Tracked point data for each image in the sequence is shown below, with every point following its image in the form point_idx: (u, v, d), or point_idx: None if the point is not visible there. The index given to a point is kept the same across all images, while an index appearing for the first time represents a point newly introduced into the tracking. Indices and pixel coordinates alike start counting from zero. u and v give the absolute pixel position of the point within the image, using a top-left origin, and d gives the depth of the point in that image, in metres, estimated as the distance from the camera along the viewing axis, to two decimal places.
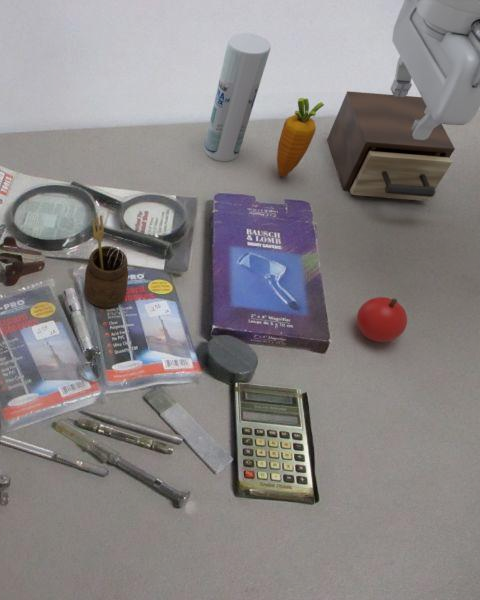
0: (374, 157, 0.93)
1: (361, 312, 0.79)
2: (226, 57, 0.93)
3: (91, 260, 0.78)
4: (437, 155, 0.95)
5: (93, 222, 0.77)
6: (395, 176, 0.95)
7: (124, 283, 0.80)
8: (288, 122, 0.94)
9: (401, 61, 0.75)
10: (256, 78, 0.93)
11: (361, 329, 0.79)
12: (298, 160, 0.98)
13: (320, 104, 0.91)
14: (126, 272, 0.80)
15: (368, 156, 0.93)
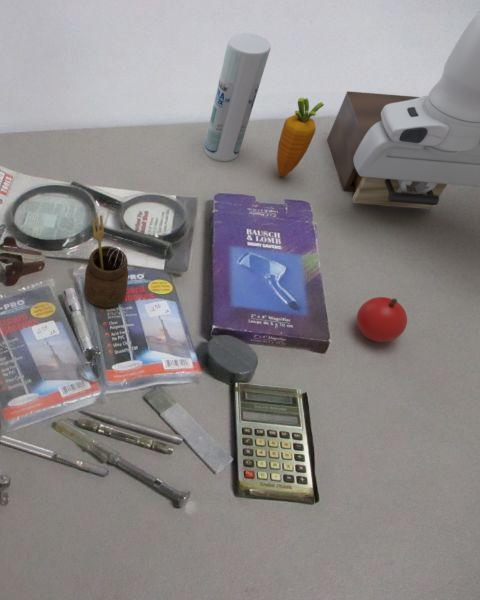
0: None
1: (361, 312, 0.79)
2: (226, 57, 0.93)
3: (91, 260, 0.78)
4: None
5: (93, 222, 0.77)
6: (398, 184, 0.94)
7: (124, 283, 0.80)
8: (288, 122, 0.94)
9: (409, 182, 0.89)
10: (256, 78, 0.93)
11: (361, 329, 0.79)
12: (298, 160, 0.98)
13: (320, 104, 0.91)
14: (126, 272, 0.80)
15: None
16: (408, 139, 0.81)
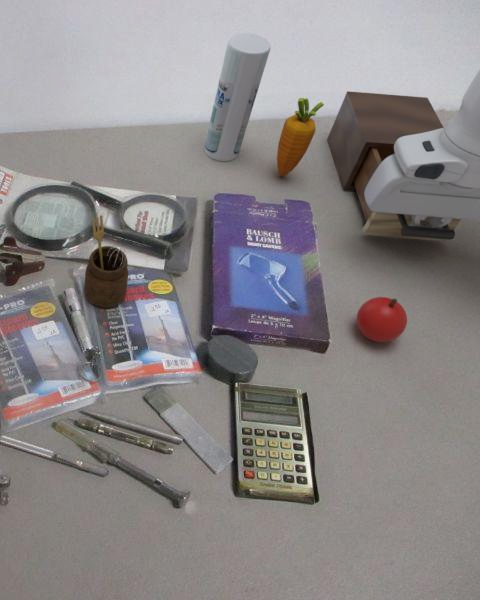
0: None
1: (361, 312, 0.79)
2: (226, 57, 0.93)
3: (91, 260, 0.78)
4: None
5: (93, 222, 0.77)
6: None
7: (124, 283, 0.80)
8: (288, 122, 0.94)
9: (423, 217, 0.85)
10: (256, 78, 0.93)
11: (361, 329, 0.79)
12: (298, 160, 0.98)
13: (320, 104, 0.91)
14: (126, 272, 0.80)
15: None
16: (424, 175, 0.77)
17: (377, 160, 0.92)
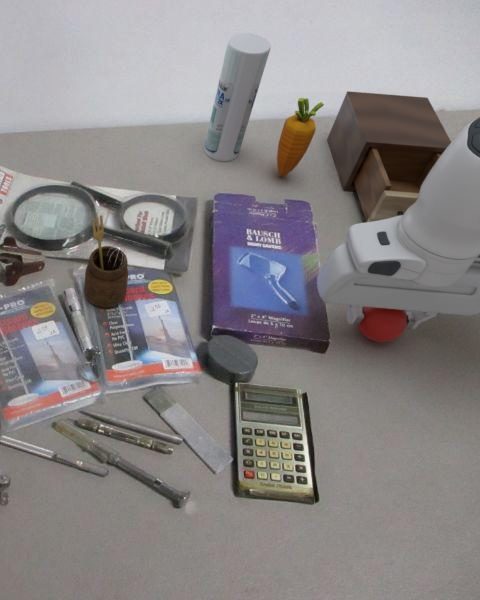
0: (389, 197, 0.87)
1: (362, 312, 0.79)
2: (226, 57, 0.93)
3: (91, 260, 0.78)
4: None
5: (93, 222, 0.77)
6: None
7: (124, 283, 0.80)
8: (288, 122, 0.94)
9: (360, 306, 0.76)
10: (256, 78, 0.93)
11: (361, 329, 0.79)
12: (298, 160, 0.98)
13: (320, 104, 0.91)
14: (126, 272, 0.80)
15: (383, 196, 0.87)
16: (378, 272, 0.68)
17: (377, 160, 0.92)
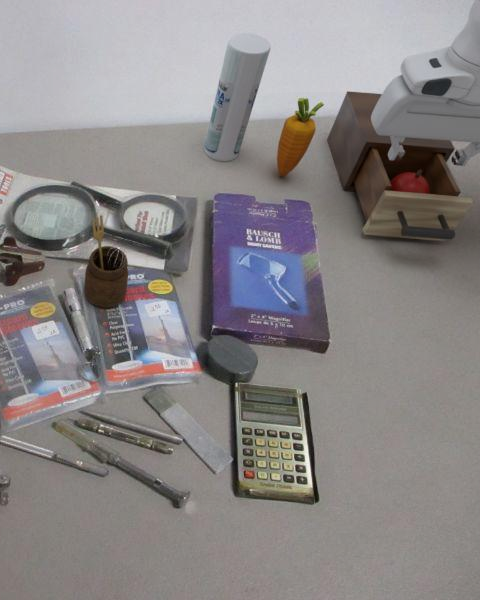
0: (389, 197, 0.87)
1: (391, 184, 0.93)
2: (226, 57, 0.93)
3: (91, 260, 0.78)
4: (456, 194, 0.88)
5: (93, 222, 0.77)
6: (412, 216, 0.89)
7: (124, 283, 0.80)
8: (288, 122, 0.94)
9: (401, 139, 0.85)
10: (256, 78, 0.93)
11: None
12: (298, 160, 0.98)
13: (320, 104, 0.91)
14: (126, 272, 0.80)
15: (383, 196, 0.87)
16: (431, 92, 0.77)
17: (377, 160, 0.92)
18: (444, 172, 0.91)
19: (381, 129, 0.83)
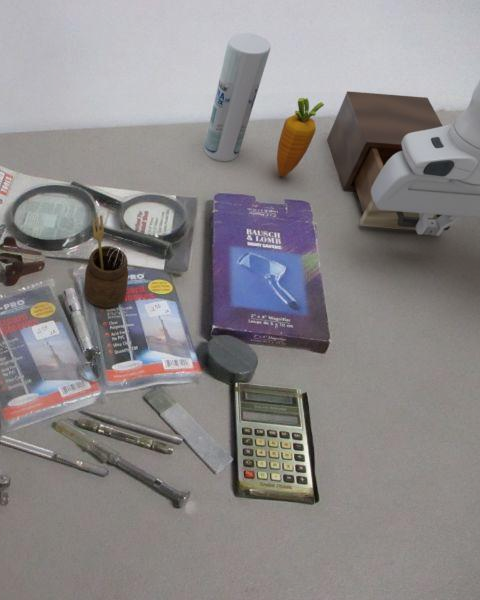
0: None
1: None
2: (226, 57, 0.93)
3: (91, 260, 0.78)
4: None
5: (93, 222, 0.77)
6: None
7: (124, 283, 0.80)
8: (288, 122, 0.94)
9: (431, 215, 0.83)
10: (256, 78, 0.93)
11: None
12: (298, 160, 0.98)
13: (320, 104, 0.91)
14: (126, 272, 0.80)
15: None
16: (433, 172, 0.75)
17: (374, 152, 0.93)
18: None
19: (381, 204, 0.81)
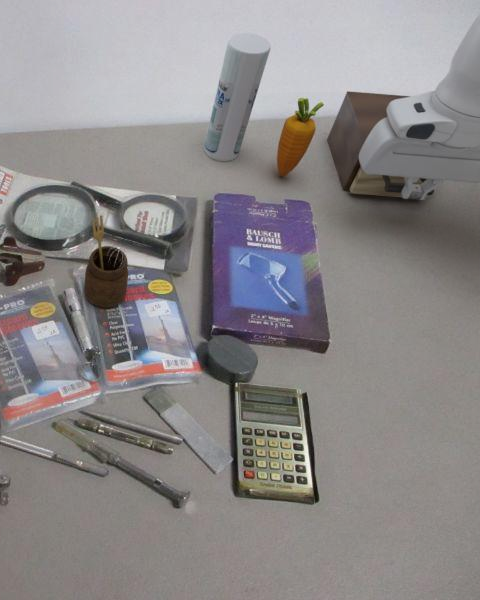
0: None
1: None
2: (226, 57, 0.93)
3: (91, 260, 0.78)
4: None
5: (93, 222, 0.77)
6: None
7: (124, 283, 0.80)
8: (288, 122, 0.94)
9: (415, 179, 0.88)
10: (256, 78, 0.93)
11: None
12: (298, 160, 0.98)
13: (320, 104, 0.91)
14: (126, 272, 0.80)
15: None
16: (415, 135, 0.80)
17: None
18: None
19: (368, 168, 0.86)
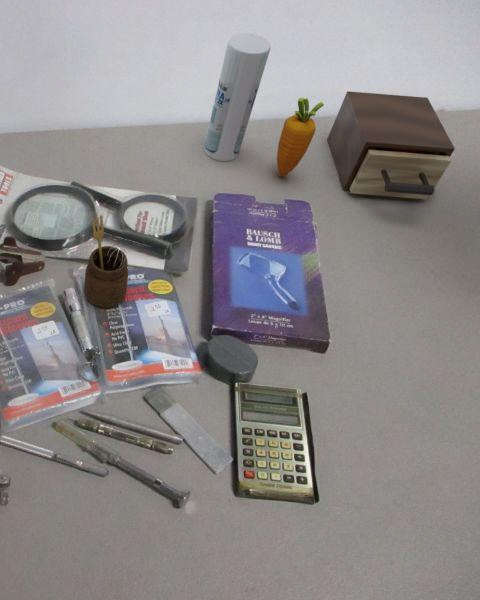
0: (373, 156, 0.93)
1: None
2: (226, 57, 0.93)
3: (91, 260, 0.78)
4: (436, 154, 0.95)
5: (93, 222, 0.77)
6: (395, 174, 0.95)
7: (124, 283, 0.80)
8: (288, 122, 0.94)
9: None
10: (256, 78, 0.93)
11: None
12: (298, 160, 0.98)
13: (320, 104, 0.91)
14: (126, 272, 0.80)
15: (367, 155, 0.94)
16: None
17: None
18: None
19: None
